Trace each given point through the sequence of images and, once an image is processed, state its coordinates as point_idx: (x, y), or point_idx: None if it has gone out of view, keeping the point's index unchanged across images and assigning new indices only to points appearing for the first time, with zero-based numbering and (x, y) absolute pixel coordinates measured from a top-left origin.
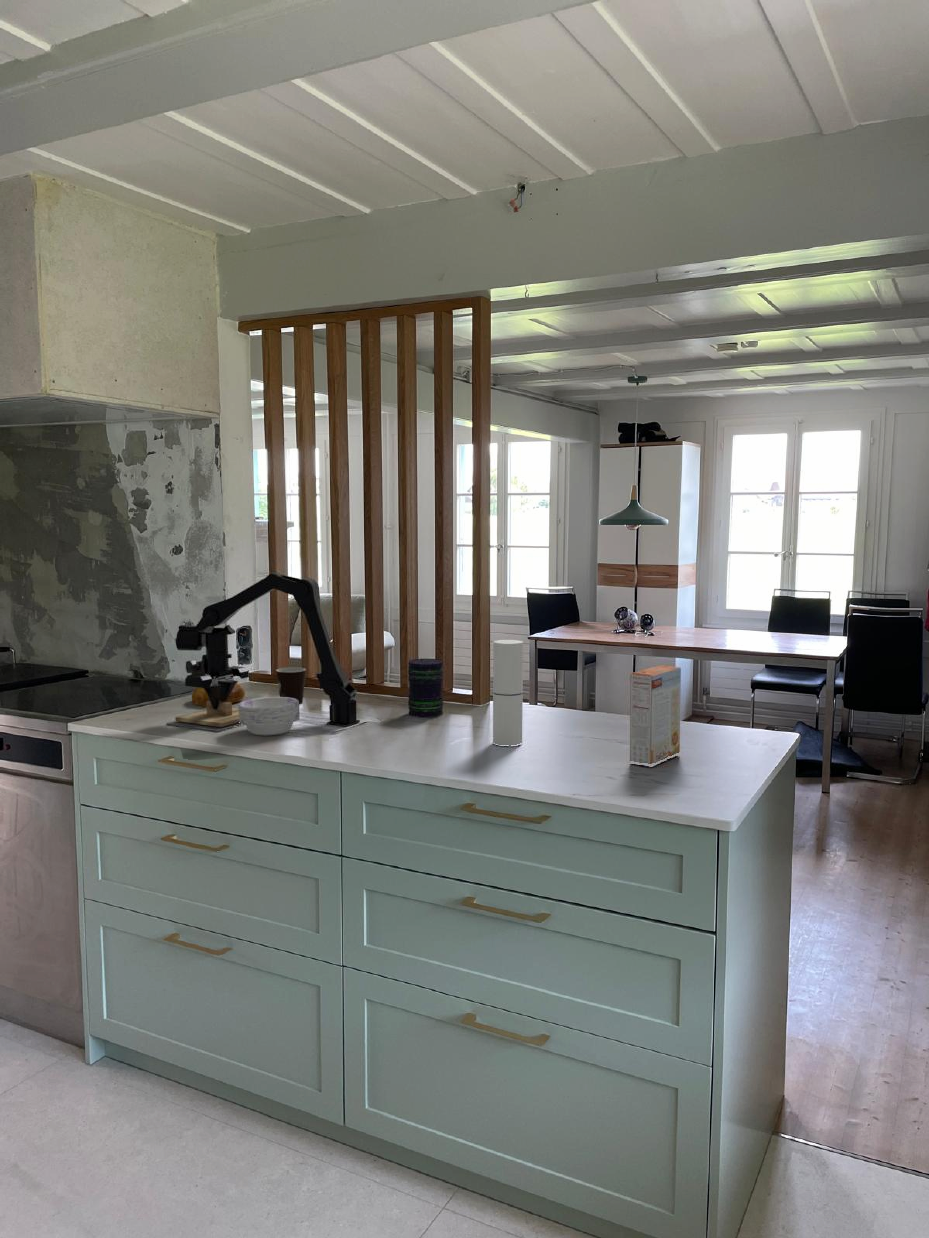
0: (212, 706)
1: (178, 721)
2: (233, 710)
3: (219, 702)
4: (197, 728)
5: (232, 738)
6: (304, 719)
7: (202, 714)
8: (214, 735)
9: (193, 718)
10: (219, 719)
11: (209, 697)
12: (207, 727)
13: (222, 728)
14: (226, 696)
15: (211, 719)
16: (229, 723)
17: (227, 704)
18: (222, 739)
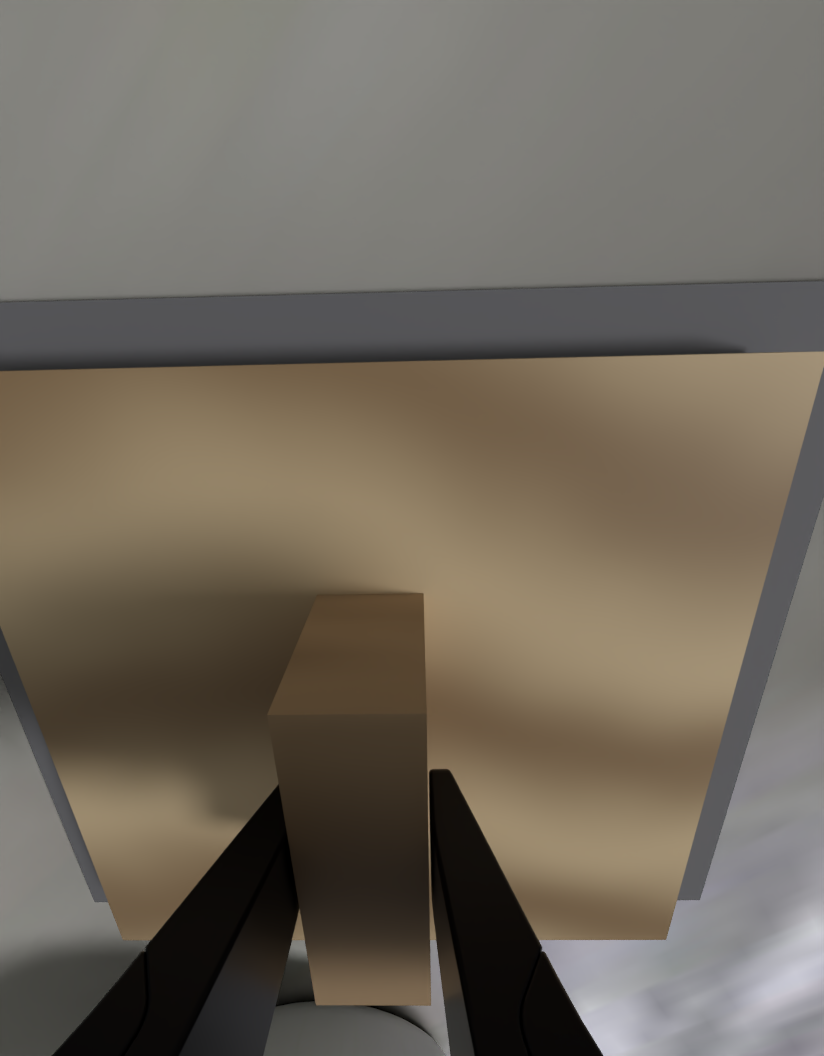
0: (268, 797)
1: (24, 369)
2: (627, 715)
3: (336, 906)
4: (33, 735)
5: (75, 1014)
6: (717, 1042)
7: (261, 574)
8: (33, 918)
9: (48, 641)
10: (210, 857)
11: (145, 965)
12: None
13: None
14: (452, 1048)
15: (159, 808)
16: None
17: (346, 986)
18: (15, 994)
